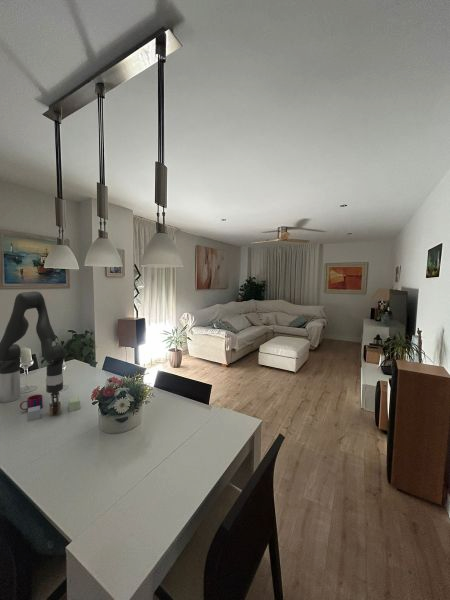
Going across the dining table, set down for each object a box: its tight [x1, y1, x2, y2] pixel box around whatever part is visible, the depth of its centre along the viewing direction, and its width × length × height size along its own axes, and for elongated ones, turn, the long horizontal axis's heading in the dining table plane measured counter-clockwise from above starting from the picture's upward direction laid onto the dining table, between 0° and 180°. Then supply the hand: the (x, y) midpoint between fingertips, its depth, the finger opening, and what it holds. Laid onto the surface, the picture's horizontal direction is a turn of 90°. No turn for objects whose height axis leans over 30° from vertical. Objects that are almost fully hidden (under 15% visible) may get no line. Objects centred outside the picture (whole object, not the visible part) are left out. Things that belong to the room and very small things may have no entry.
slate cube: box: [27, 406, 41, 422], centre depth 126 cm, size 5×5×5 cm
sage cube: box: [68, 396, 81, 412], centre depth 137 cm, size 5×5×5 cm
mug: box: [19, 394, 43, 411], centre depth 134 cm, size 7×10×7 cm
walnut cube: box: [48, 400, 62, 417], centre depth 132 cm, size 5×5×5 cm
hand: (55, 411), depth 132 cm, fingers closed on walnut cube, 5 cm apart
